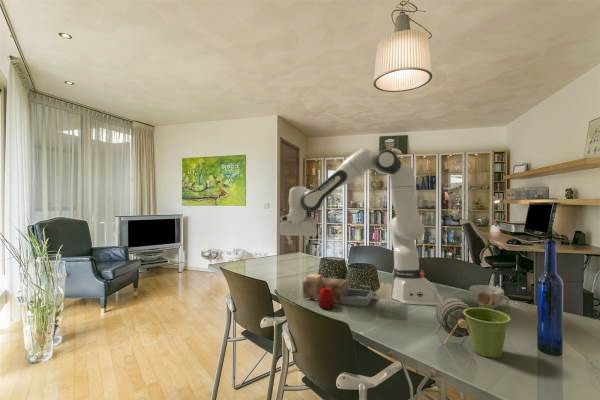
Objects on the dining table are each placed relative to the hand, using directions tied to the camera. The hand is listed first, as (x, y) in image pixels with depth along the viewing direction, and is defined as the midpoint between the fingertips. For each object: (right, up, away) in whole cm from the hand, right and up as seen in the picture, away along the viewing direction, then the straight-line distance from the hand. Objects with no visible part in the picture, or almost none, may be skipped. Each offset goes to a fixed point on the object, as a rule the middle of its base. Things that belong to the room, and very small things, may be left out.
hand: (298, 244), depth 152 cm
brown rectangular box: (+14, -25, -7) cm, 29 cm away
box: (+28, -24, -13) cm, 39 cm away
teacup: (+81, -23, -27) cm, 88 cm away
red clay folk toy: (+13, -25, -21) cm, 35 cm away
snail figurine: (+71, -23, -40) cm, 85 cm away
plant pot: (+57, -23, -64) cm, 88 cm away
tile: (+8, -17, -4) cm, 19 cm away
